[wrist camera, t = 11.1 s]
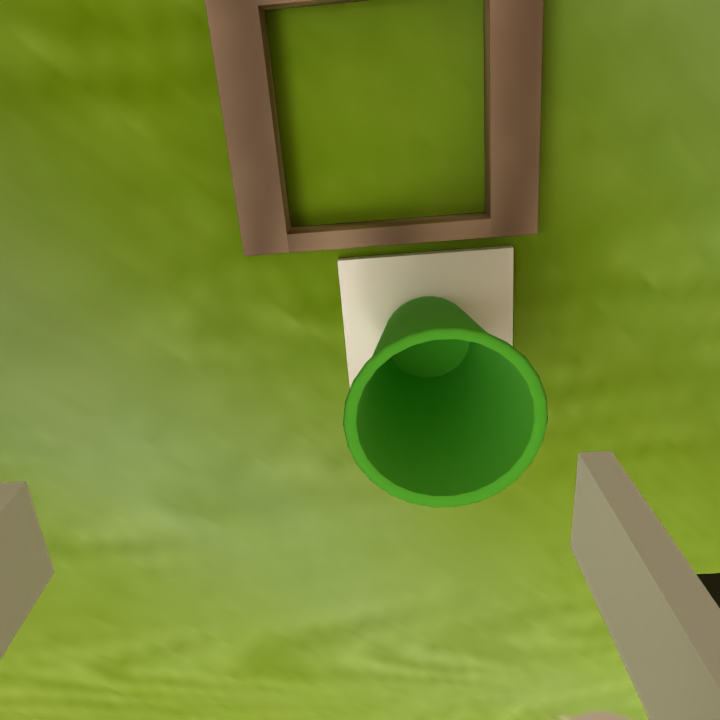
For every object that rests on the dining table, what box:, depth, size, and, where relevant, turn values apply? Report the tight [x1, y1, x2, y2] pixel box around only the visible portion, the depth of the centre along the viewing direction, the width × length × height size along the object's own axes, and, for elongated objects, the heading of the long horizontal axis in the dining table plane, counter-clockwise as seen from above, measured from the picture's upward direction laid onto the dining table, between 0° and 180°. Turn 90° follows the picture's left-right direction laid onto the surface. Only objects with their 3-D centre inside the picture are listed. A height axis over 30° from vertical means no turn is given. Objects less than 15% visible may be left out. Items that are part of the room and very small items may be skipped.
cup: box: [343, 296, 548, 507], centre depth 34 cm, size 9×9×11 cm
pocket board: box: [205, 0, 543, 256], centre depth 34 cm, size 16×13×2 cm
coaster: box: [338, 245, 514, 387], centre depth 39 cm, size 10×10×1 cm
